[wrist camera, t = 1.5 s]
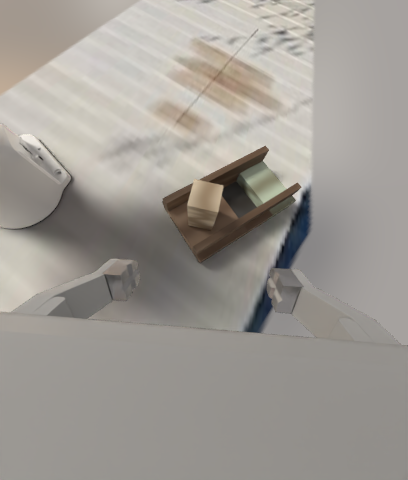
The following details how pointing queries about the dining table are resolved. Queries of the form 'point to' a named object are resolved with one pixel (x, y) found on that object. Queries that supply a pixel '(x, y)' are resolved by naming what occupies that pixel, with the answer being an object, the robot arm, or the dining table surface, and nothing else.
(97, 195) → the dining table surface
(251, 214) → the channel deck
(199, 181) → the beech block
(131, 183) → the dining table surface
